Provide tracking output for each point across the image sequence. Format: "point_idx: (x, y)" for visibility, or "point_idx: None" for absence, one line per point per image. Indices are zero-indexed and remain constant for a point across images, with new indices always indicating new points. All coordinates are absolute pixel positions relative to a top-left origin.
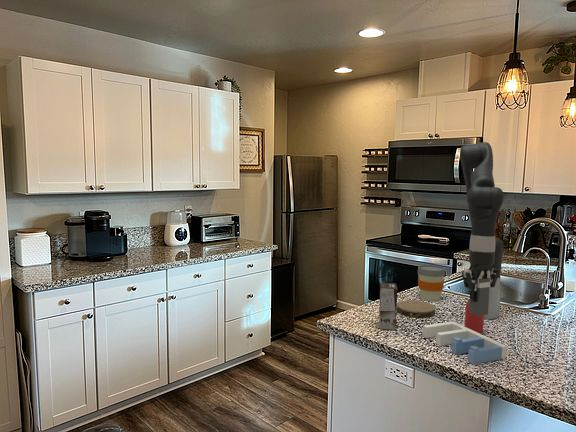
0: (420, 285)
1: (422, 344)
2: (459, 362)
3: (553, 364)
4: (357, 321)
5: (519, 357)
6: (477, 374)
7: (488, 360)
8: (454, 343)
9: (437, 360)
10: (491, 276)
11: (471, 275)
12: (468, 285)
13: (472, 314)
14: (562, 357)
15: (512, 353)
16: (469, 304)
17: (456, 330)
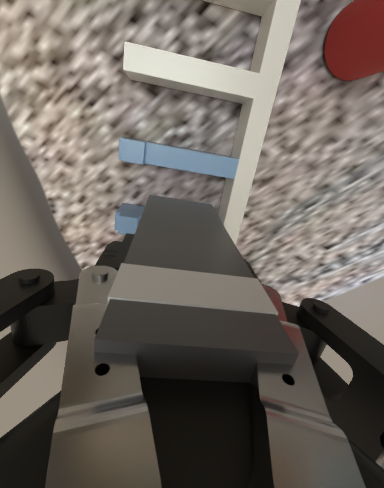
0: None
1: (81, 27)
2: (99, 194)
3: (281, 293)
4: None
5: (258, 244)
6: (91, 254)
7: None
8: (119, 151)
9: (47, 155)
10: (374, 411)
11: (62, 384)
12: (13, 324)
13: (376, 29)
14: (333, 284)
15: (268, 224)
16: (146, 205)
17: (220, 69)
